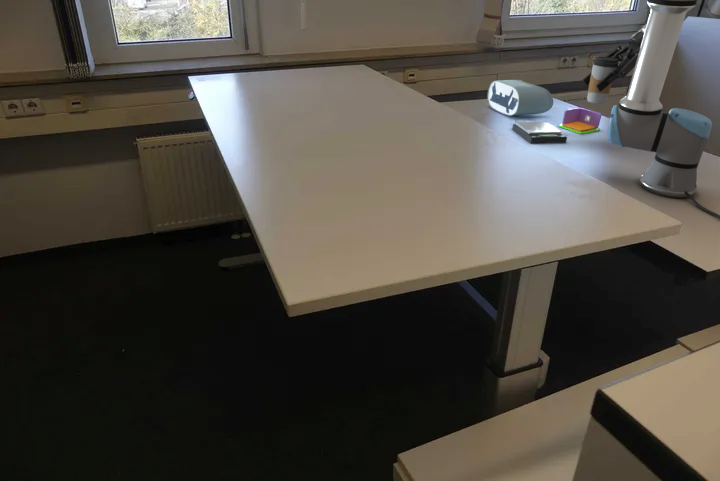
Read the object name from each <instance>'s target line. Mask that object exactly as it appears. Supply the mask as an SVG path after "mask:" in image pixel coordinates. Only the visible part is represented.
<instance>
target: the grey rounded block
mask: <svg viewBox="0 0 720 481" xmlns="http://www.w3.org/2000/svg"><path fill="white" fill-rule="evenodd" d="M486 93H487V94H486V95H487V96H486V99H487V103H488V105H489V107H490V108H492V109H493V110H494V111H496V112H498V113H500V114H502V115H506V116H510V117H511V116H522V115H523V116H524V115H539V114H540V115H541V114H543V113H547V112H548V111H550V110H551V109H552V108H553V106H554V98H553V97H554V96H553V95H552V93H551V92H550V91H549V90H548V89H547V88H544V87H542V86H539V85H536V84H532V83H529V82H527V81H523V80H522V79H501V80H493V81H492V82H491V83H490V84H489V86H488V89H487V92H486Z"/></svg>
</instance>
